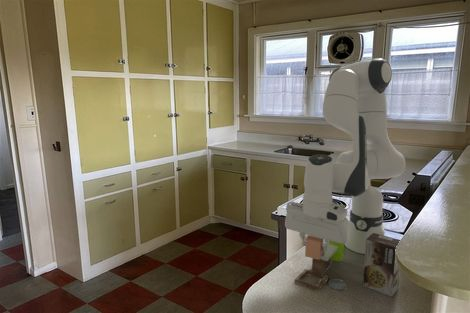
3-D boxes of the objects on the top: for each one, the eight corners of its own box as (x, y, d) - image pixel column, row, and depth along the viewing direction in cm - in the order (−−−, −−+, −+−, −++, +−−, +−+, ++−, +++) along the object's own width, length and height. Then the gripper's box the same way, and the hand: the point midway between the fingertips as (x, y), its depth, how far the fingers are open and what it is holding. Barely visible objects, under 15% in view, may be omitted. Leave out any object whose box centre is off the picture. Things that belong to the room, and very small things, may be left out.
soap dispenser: (347, 256, 125) (351, 205, 121) (338, 263, 120) (341, 210, 117) (333, 251, 129) (336, 201, 126) (323, 257, 125) (326, 206, 121)
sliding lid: (318, 244, 121) (318, 236, 120) (337, 249, 117) (338, 241, 116) (306, 255, 113) (307, 246, 112) (327, 261, 109) (327, 252, 108)
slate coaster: (331, 278, 110) (331, 277, 110) (348, 284, 107) (348, 282, 107) (325, 286, 106) (325, 284, 106) (343, 292, 103) (343, 290, 103)
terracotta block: (308, 250, 111) (309, 233, 109) (322, 253, 109) (323, 236, 107) (305, 256, 107) (306, 239, 105) (319, 259, 105) (320, 242, 103)
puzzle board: (316, 260, 123) (317, 245, 121) (337, 266, 118) (338, 251, 117) (294, 282, 108) (295, 265, 107) (318, 290, 104) (319, 273, 102)
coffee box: (398, 288, 105) (403, 240, 102) (391, 297, 100) (396, 247, 97) (369, 277, 111) (373, 231, 108) (361, 285, 106) (365, 238, 103)
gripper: (282, 203, 107) (280, 242, 110) (346, 218, 96) (342, 261, 99) (290, 197, 112) (289, 235, 116) (352, 211, 101) (349, 253, 104)
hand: (314, 247), depth 107 cm, fingers closed on terracotta block, 5 cm apart
